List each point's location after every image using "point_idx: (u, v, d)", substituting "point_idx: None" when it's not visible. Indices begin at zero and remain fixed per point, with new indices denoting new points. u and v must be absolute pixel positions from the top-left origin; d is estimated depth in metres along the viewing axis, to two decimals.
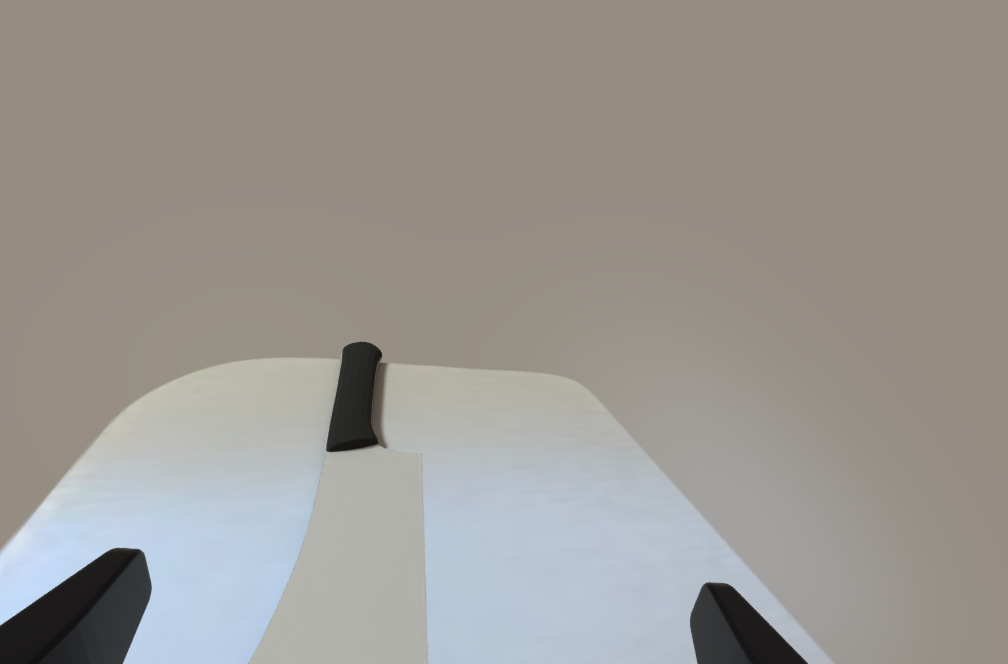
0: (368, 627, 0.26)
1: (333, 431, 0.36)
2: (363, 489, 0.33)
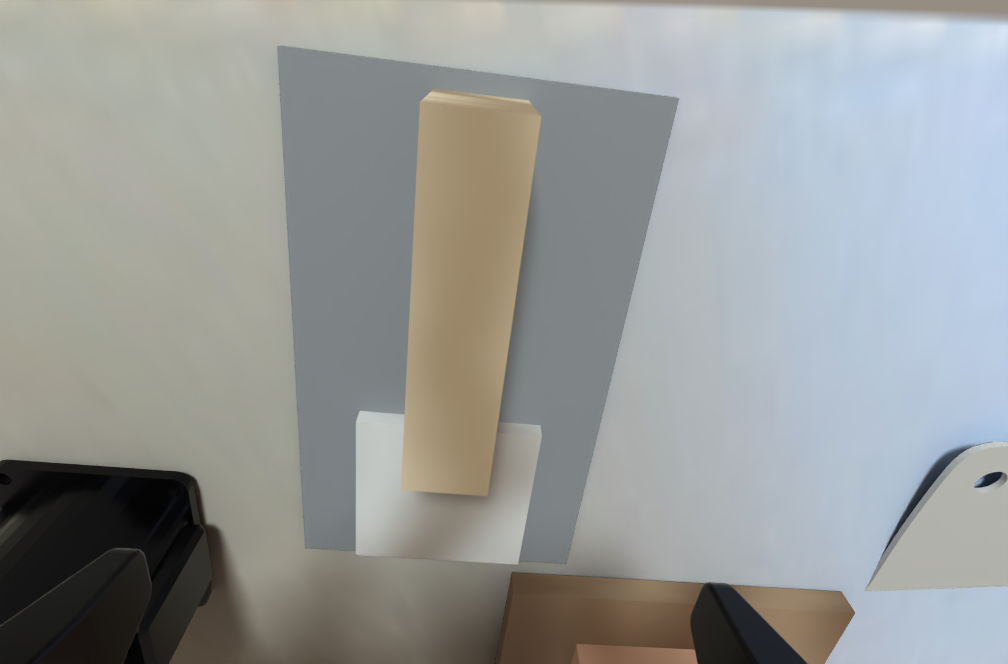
0: None
1: None
2: None
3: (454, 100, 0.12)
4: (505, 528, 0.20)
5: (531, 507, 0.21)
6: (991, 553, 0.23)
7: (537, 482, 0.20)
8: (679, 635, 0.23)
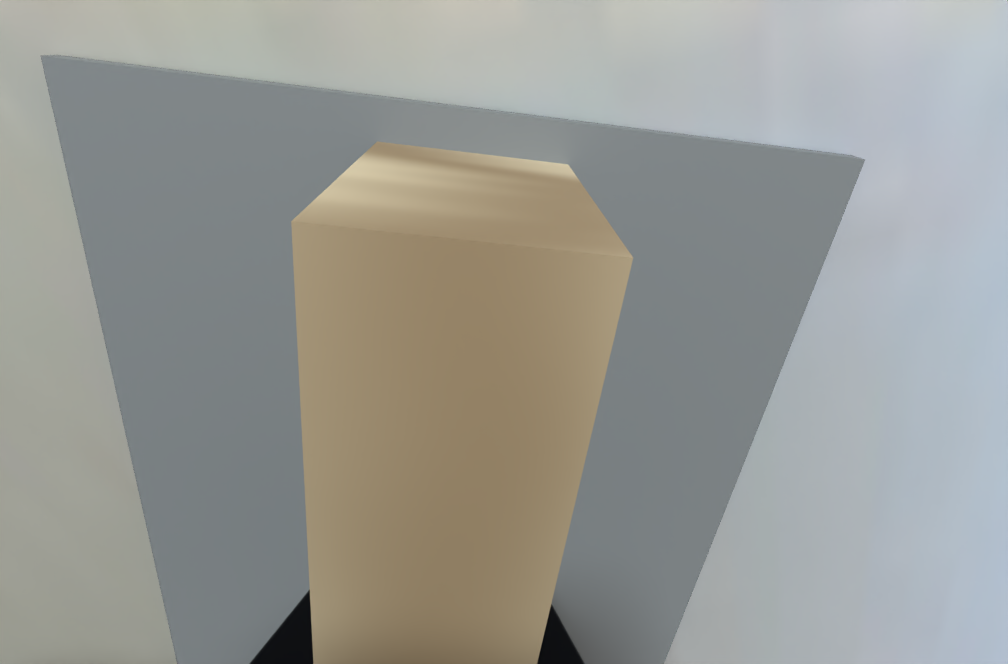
0: None
1: None
2: None
3: (402, 193, 0.05)
4: None
5: None
6: None
7: None
8: None
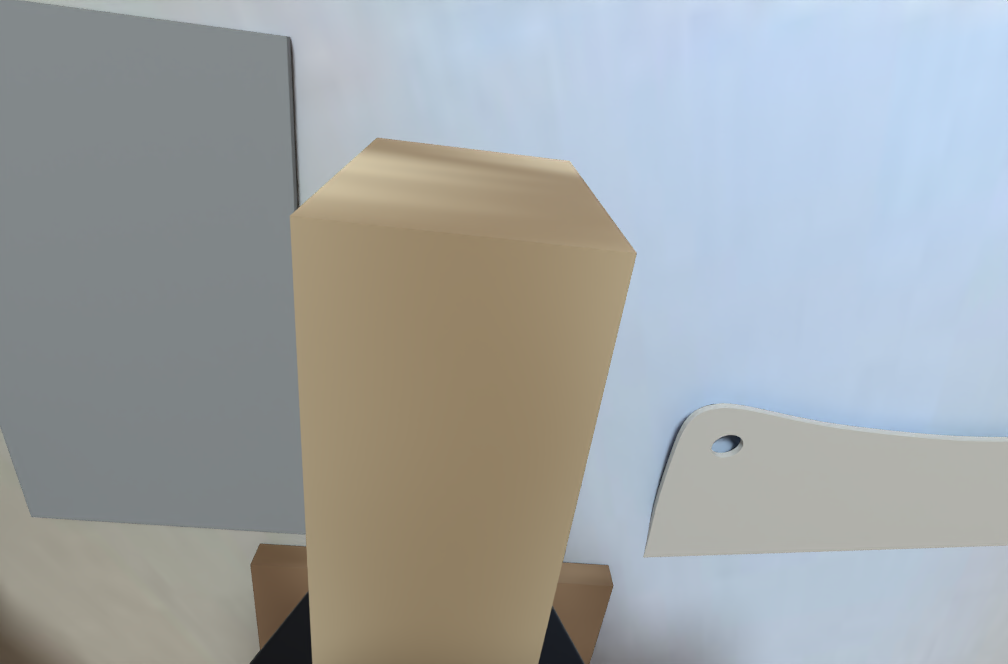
0: (811, 510, 0.22)
1: None
2: None
3: (403, 188, 0.05)
4: None
5: (256, 474, 0.20)
6: (757, 522, 0.22)
7: (254, 447, 0.20)
8: None
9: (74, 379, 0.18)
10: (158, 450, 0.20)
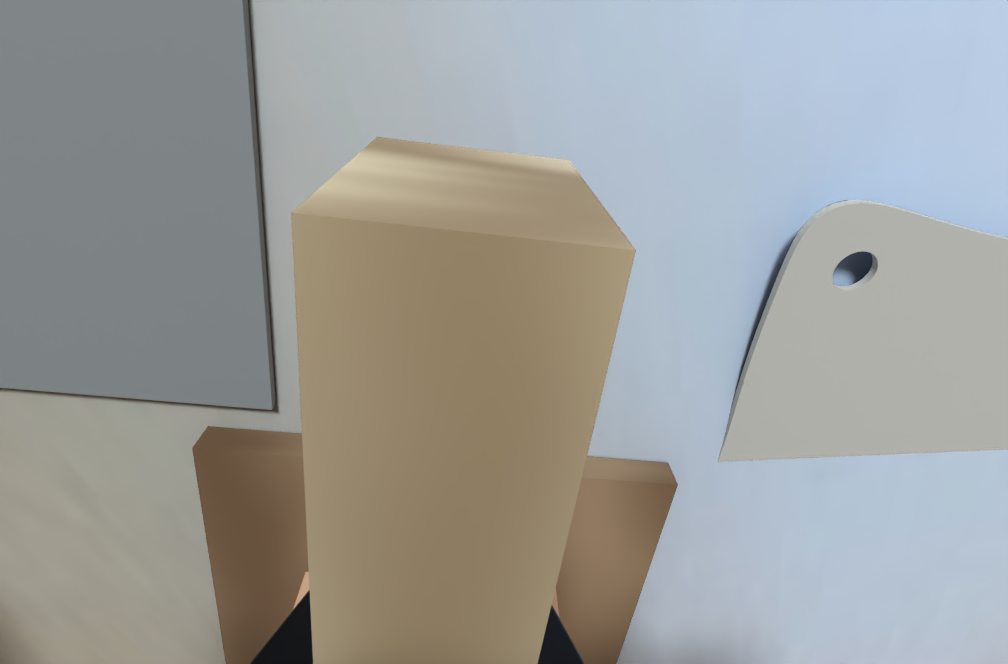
0: (952, 379, 0.16)
1: None
2: None
3: (403, 186, 0.05)
4: None
5: (196, 314, 0.15)
6: (878, 398, 0.17)
7: (191, 272, 0.14)
8: None
9: None
10: (58, 275, 0.14)
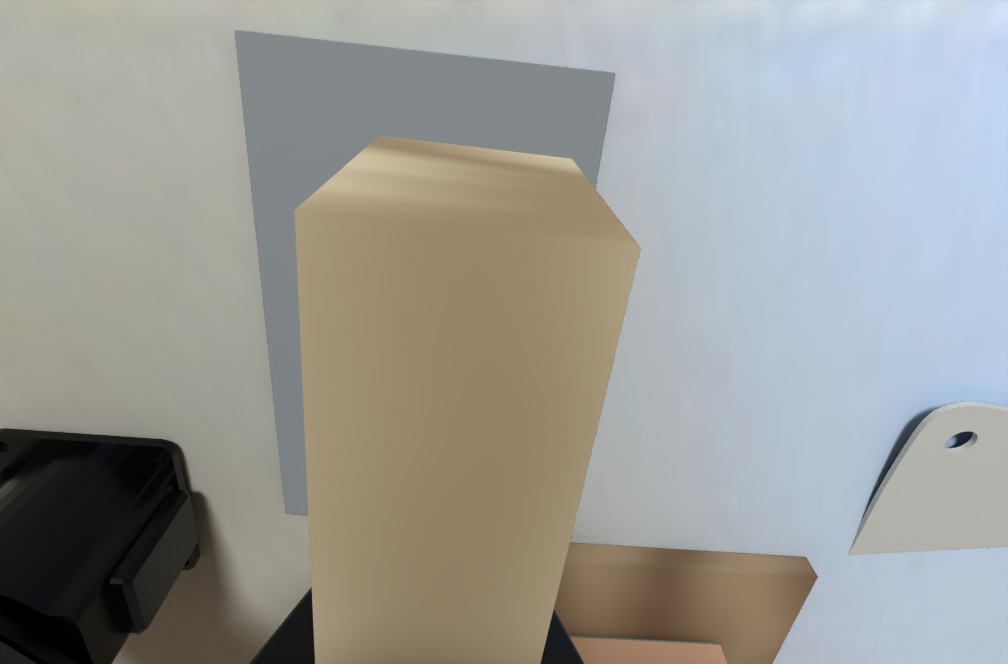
0: None
1: None
2: None
3: (406, 184, 0.05)
4: None
5: None
6: (970, 514, 0.23)
7: None
8: (647, 598, 0.24)
9: None
10: None
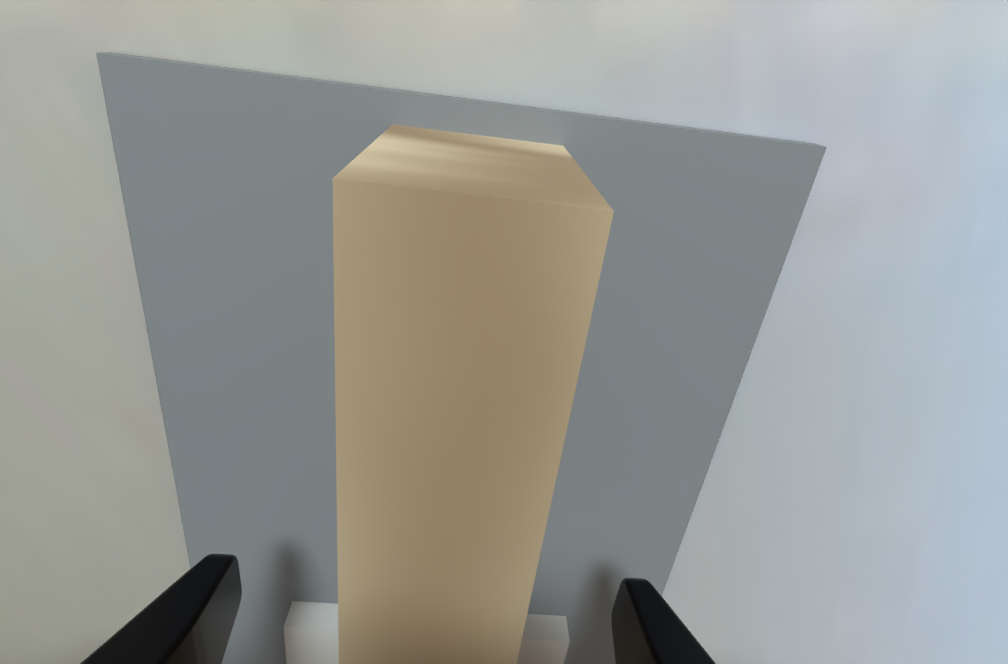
0: None
1: None
2: None
3: (420, 162, 0.06)
4: None
5: None
6: None
7: None
8: None
9: None
10: None
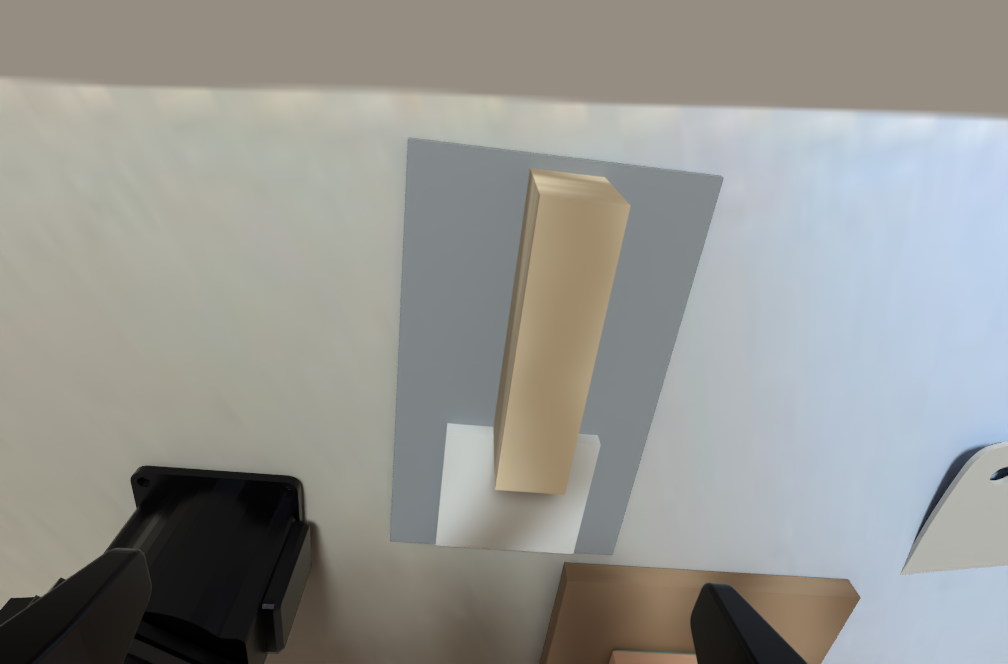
0: None
1: None
2: None
3: (559, 188, 0.16)
4: (564, 522, 0.24)
5: (586, 505, 0.24)
6: None
7: (592, 484, 0.24)
8: None
9: None
10: None
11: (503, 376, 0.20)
